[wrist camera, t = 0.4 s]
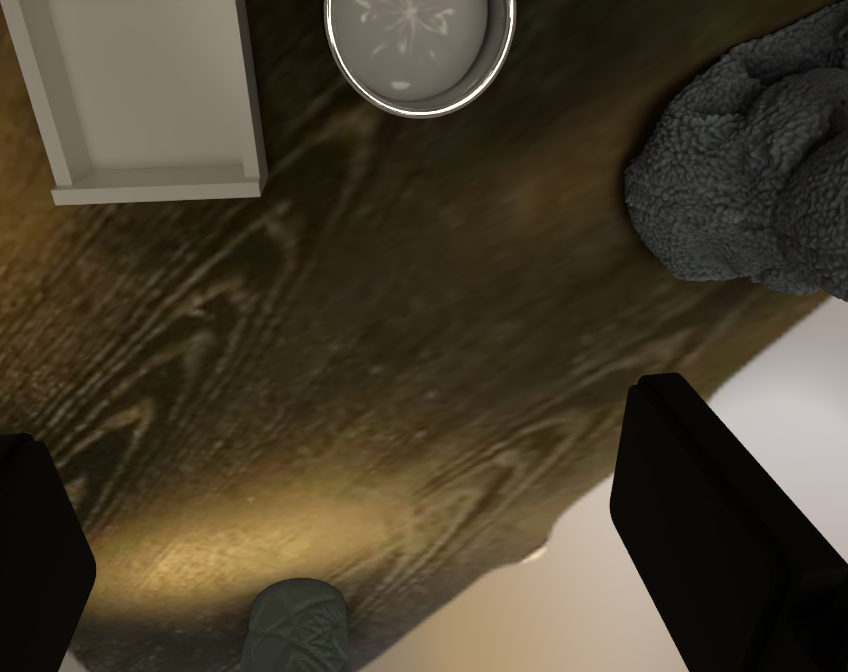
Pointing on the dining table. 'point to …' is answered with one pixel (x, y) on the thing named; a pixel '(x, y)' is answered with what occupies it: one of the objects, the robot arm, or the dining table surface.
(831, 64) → the koala plush
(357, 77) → the beer glass
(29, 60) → the white open box
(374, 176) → the dining table surface
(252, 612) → the dark green cup
